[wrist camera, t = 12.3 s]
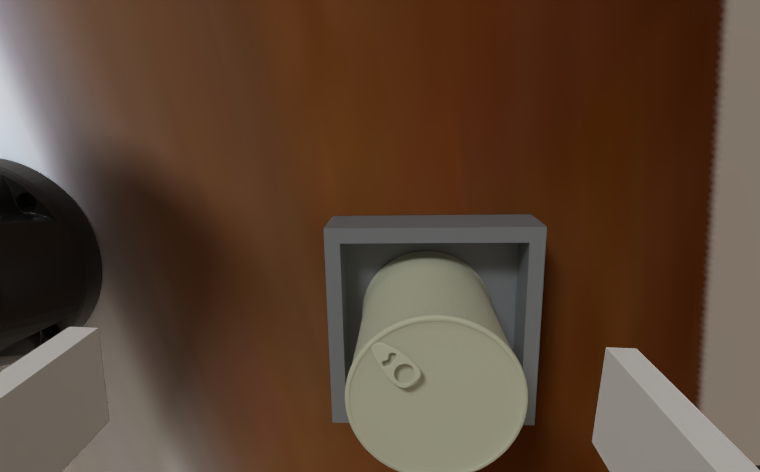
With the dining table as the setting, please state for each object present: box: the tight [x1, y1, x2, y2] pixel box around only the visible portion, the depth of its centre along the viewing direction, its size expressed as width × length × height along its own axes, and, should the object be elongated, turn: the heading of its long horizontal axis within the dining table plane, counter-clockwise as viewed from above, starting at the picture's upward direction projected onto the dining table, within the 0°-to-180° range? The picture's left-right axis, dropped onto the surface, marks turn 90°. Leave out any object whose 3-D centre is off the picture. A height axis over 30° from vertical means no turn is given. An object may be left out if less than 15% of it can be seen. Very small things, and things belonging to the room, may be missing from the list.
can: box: [345, 251, 528, 472], centre depth 30 cm, size 9×9×12 cm
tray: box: [324, 214, 547, 425], centre depth 35 cm, size 14×14×4 cm
